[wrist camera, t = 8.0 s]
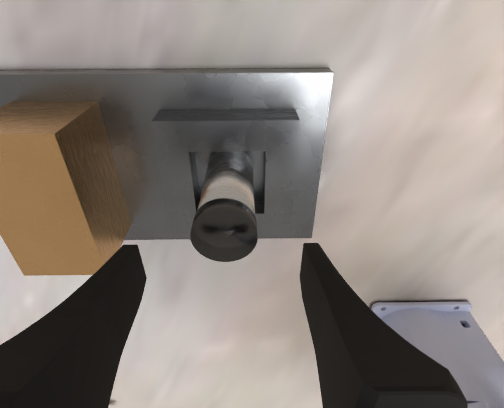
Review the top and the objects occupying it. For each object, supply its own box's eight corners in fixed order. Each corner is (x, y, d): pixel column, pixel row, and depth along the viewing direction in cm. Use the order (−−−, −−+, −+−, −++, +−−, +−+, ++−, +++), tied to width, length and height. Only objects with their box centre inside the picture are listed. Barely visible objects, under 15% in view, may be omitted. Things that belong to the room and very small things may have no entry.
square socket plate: (329, 68, 19) (360, 98, 13) (308, 228, 25) (324, 288, 20) (-14, 70, 18) (-114, 101, 13) (58, 230, 25) (10, 292, 20)
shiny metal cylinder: (254, 145, 20) (256, 209, 14) (255, 188, 22) (258, 260, 16) (203, 146, 20) (185, 211, 14) (208, 189, 22) (195, 262, 16)
